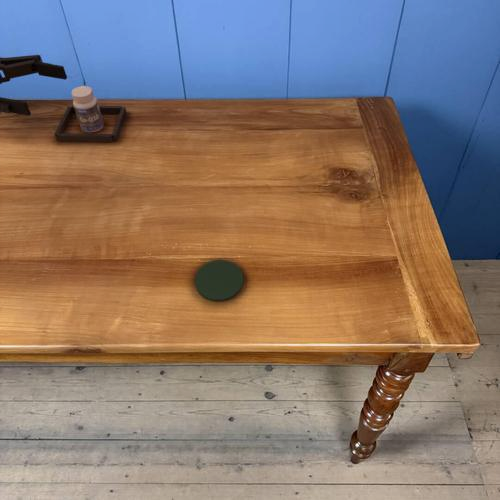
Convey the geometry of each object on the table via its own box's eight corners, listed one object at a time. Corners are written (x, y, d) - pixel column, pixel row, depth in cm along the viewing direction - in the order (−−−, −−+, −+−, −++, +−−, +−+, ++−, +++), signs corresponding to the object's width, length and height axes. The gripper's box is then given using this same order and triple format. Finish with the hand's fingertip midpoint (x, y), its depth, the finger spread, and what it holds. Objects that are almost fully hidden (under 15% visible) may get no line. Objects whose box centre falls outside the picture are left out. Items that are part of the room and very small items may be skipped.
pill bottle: (83, 135, 96) (70, 100, 89) (79, 122, 98) (67, 87, 92) (106, 130, 97) (95, 94, 90) (102, 117, 99) (91, 82, 93)
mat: (185, 283, 72) (184, 281, 71) (217, 254, 75) (217, 252, 75) (221, 310, 69) (220, 308, 68) (253, 278, 72) (253, 276, 72)
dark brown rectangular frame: (56, 141, 94) (53, 135, 93) (70, 111, 101) (68, 105, 100) (117, 142, 94) (115, 136, 93) (127, 112, 101) (125, 105, 99)
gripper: (2, 61, 108) (82, 75, 104) (-73, 123, 93) (18, 142, 89) (-12, 30, 102) (72, 42, 98) (-95, 90, 87) (1, 108, 83)
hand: (47, 90), depth 94 cm, fingers open, 13 cm apart
